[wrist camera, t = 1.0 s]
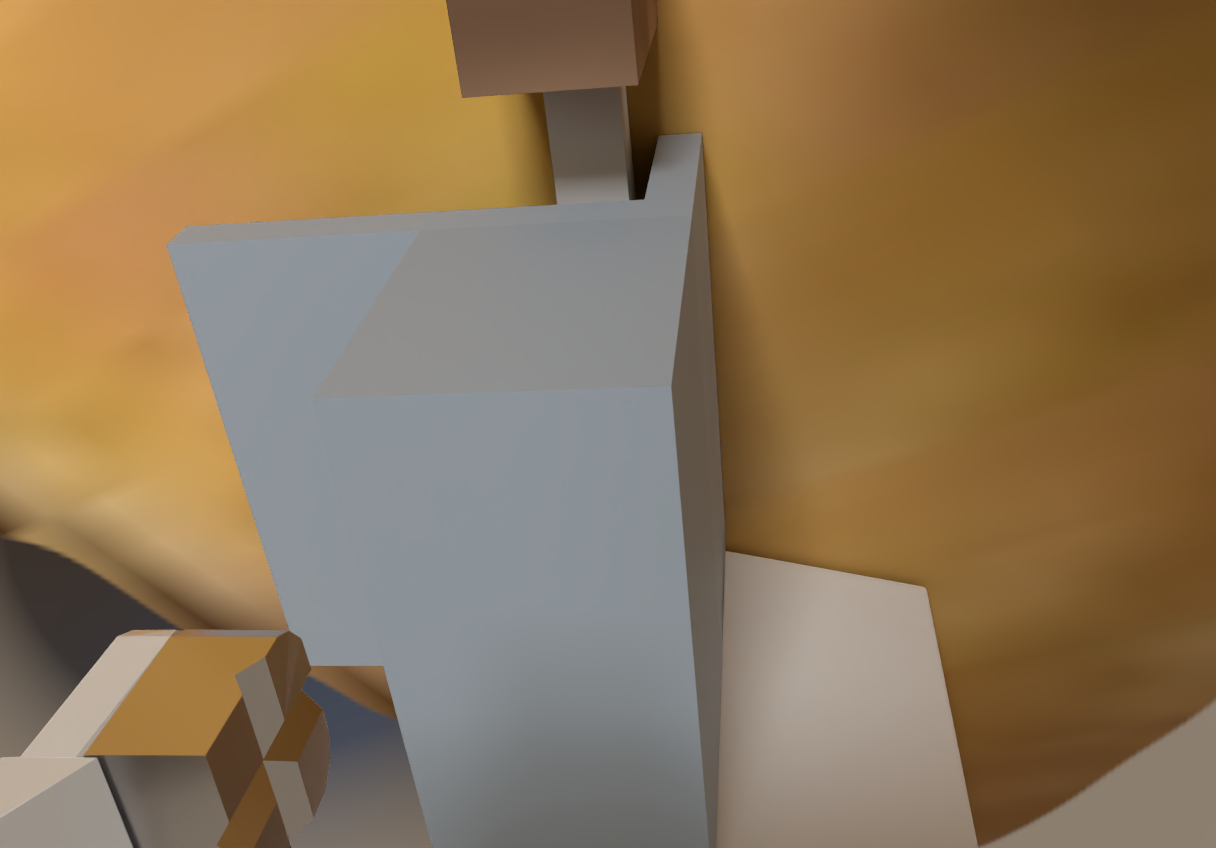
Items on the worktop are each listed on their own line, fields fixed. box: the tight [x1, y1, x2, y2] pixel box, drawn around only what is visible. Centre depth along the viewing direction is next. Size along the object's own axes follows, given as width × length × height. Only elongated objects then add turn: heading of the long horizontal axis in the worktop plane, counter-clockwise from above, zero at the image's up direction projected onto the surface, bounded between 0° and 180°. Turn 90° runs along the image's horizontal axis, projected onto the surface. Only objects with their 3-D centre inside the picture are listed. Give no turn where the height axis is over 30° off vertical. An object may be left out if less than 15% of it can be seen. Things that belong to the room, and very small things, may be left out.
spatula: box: [446, 0, 658, 205], centre depth 30 cm, size 17×4×6 cm, turn 6°
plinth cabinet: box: [166, 133, 726, 848], centre depth 30 cm, size 14×13×14 cm
